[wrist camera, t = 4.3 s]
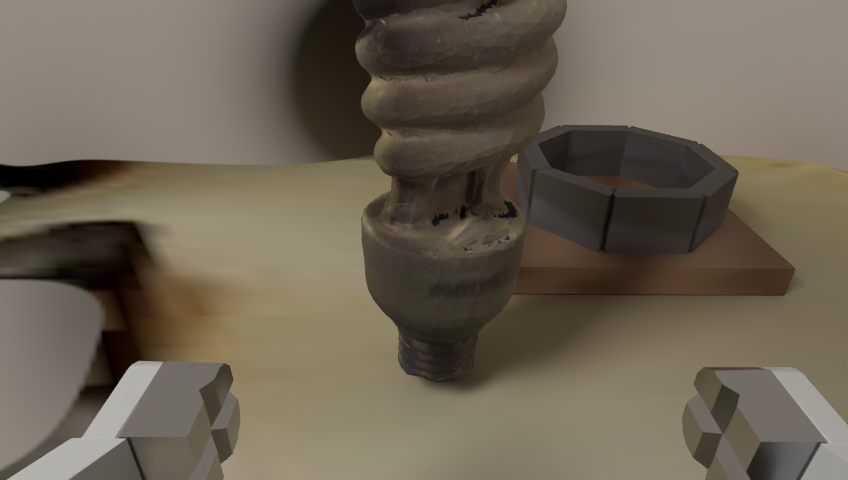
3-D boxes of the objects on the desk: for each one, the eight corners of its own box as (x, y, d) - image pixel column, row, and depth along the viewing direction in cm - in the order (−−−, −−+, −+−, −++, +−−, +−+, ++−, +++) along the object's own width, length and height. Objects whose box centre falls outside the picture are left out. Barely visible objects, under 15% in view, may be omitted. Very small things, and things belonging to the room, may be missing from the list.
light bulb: (468, 316, 24) (493, -74, 16) (546, 399, 20) (629, -75, 12) (348, 355, 22) (315, -77, 14) (408, 459, 17) (406, -80, 10)
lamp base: (512, 293, 25) (522, 208, 23) (484, 182, 37) (488, 118, 34) (784, 295, 26) (819, 210, 23) (672, 184, 37) (689, 120, 35)
